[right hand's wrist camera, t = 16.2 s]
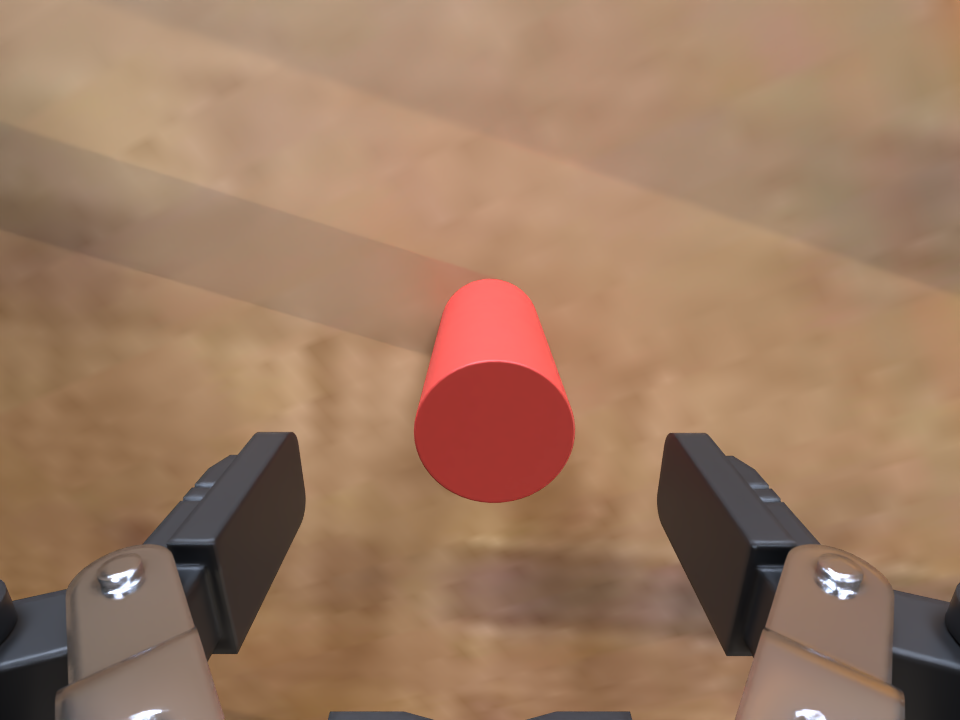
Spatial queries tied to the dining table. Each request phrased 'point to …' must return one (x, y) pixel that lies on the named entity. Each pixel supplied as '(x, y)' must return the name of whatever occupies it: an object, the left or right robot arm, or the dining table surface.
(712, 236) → the dining table surface
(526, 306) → the cylinder
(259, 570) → the right robot arm
